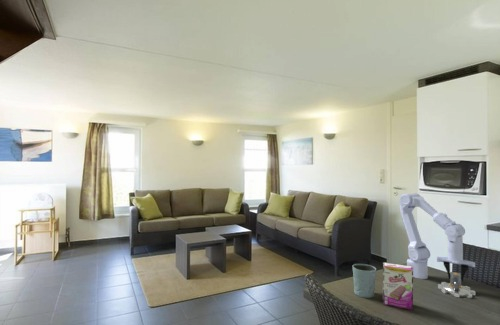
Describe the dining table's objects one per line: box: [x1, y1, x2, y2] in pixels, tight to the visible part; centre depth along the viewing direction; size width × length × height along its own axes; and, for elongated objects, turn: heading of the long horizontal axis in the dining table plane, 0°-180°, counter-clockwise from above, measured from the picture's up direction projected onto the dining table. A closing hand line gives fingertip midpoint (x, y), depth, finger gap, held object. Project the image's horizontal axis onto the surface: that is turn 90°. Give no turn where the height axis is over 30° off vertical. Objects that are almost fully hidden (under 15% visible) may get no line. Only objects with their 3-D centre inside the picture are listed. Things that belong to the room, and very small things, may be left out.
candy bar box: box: [382, 262, 414, 311], centre depth 119 cm, size 11×5×16 cm, turn 65°
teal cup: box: [352, 263, 377, 299], centre depth 130 cm, size 10×10×12 cm
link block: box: [449, 271, 462, 286], centre depth 133 cm, size 4×4×5 cm
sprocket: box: [437, 281, 476, 299], centre depth 130 cm, size 14×14×6 cm
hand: (455, 279), depth 133 cm, fingers closed on link block, 4 cm apart
